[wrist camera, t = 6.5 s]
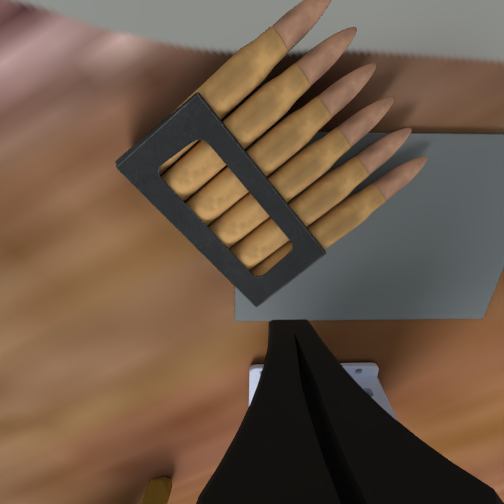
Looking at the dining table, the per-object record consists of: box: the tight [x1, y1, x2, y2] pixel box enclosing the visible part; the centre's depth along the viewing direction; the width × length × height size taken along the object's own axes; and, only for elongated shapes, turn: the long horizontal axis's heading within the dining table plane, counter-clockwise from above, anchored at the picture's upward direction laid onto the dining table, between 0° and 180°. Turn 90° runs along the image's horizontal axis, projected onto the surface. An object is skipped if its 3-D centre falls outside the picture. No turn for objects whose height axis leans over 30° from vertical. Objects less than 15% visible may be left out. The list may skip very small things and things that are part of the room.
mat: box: [235, 131, 504, 321], centre depth 20 cm, size 17×12×1 cm
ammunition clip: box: [115, 0, 428, 307], centre depth 17 cm, size 11×2×12 cm
